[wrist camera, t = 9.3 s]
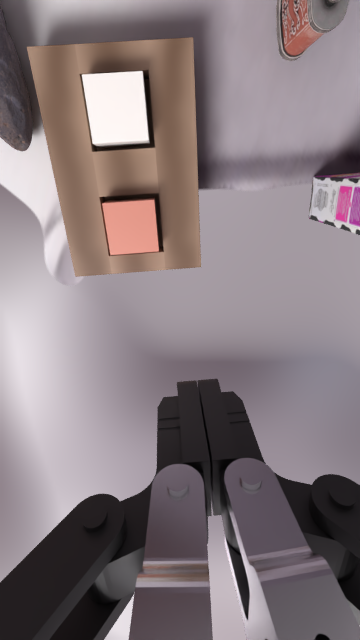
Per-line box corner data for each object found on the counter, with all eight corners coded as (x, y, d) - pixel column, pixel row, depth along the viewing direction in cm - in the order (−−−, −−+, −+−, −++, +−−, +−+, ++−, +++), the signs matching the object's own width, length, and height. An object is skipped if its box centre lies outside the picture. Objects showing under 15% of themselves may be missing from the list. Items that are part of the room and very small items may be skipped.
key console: (189, 53, 30) (193, 37, 26) (197, 258, 39) (200, 267, 35) (42, 62, 30) (26, 46, 26) (83, 266, 38) (75, 276, 35)
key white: (144, 83, 29) (142, 70, 26) (149, 144, 32) (148, 140, 28) (91, 86, 29) (81, 74, 26) (100, 147, 31) (92, 143, 28)
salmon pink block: (154, 196, 34) (154, 199, 30) (158, 243, 36) (158, 251, 32) (108, 200, 34) (102, 203, 30) (115, 246, 36) (110, 255, 32)
